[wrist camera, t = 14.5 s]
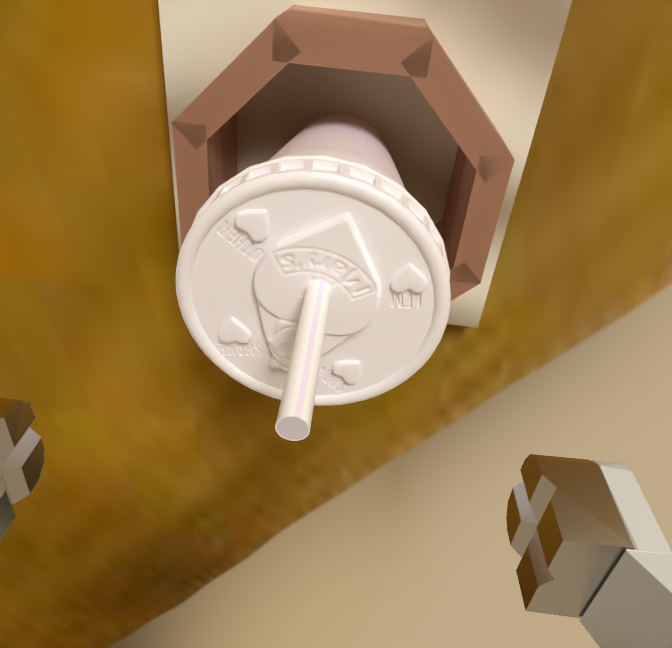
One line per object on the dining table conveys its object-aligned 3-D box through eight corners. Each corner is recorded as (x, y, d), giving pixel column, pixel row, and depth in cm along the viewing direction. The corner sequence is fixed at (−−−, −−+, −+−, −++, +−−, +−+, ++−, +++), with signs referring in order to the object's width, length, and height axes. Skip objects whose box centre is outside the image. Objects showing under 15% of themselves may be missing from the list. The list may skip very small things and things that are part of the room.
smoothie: (458, 114, 19) (566, 373, 8) (385, 265, 23) (385, 595, 11) (282, 41, 18) (110, 212, 7) (235, 209, 22) (69, 508, 10)
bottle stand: (474, 314, 25) (491, 388, 21) (189, 282, 25) (150, 348, 21) (569, -23, 18) (625, -12, 13) (163, -68, 18) (96, -70, 14)
